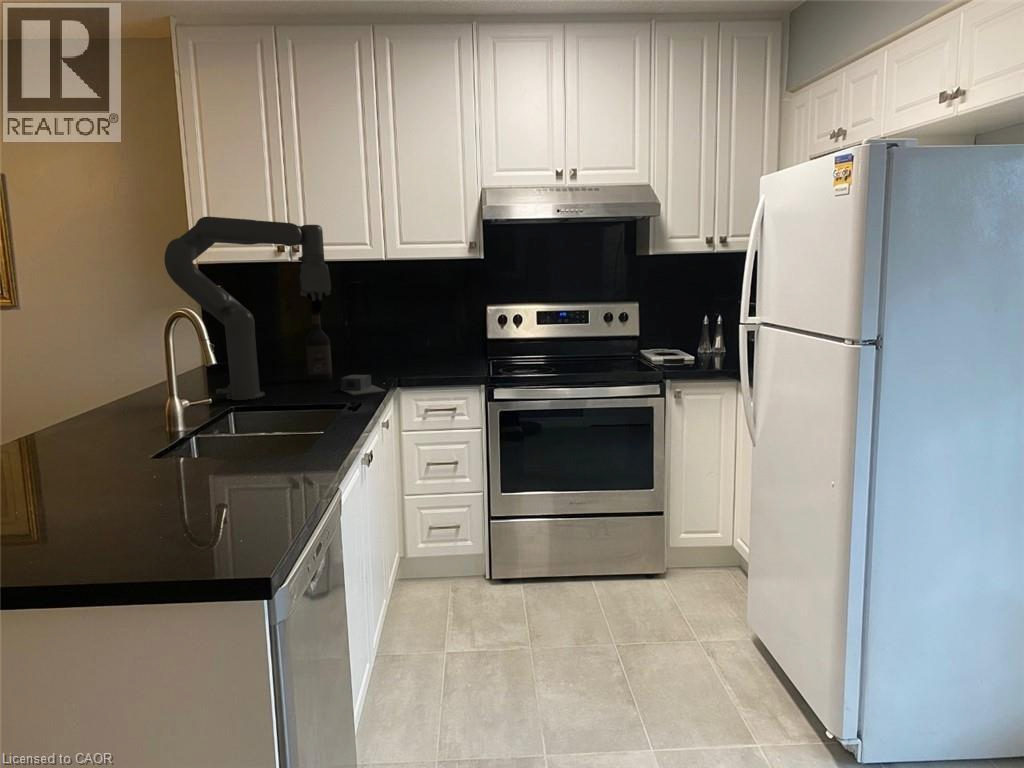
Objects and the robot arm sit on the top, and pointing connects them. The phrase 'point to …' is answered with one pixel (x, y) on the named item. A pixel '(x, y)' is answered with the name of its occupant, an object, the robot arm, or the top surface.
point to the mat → (365, 390)
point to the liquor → (318, 352)
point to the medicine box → (356, 382)
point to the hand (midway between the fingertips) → (316, 311)
